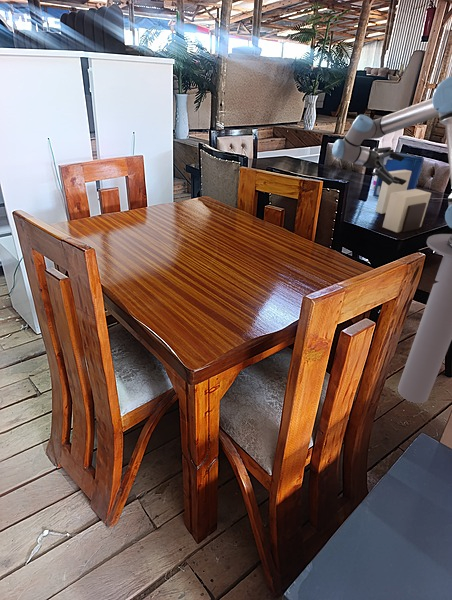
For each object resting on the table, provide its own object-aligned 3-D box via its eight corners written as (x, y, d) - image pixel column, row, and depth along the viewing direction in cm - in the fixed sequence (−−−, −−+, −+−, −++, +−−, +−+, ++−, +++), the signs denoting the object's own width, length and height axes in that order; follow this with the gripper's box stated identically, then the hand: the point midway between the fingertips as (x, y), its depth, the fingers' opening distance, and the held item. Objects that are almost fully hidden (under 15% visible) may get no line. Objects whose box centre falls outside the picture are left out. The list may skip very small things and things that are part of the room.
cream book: (401, 210, 211) (411, 171, 201) (381, 213, 203) (391, 173, 193) (394, 207, 214) (404, 169, 204) (375, 211, 206) (384, 171, 196)
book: (413, 201, 227) (426, 155, 215) (411, 203, 222) (423, 156, 209) (375, 194, 237) (384, 150, 224) (372, 197, 231) (381, 151, 219)
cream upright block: (422, 227, 187) (433, 193, 179) (398, 233, 178) (408, 197, 170) (406, 221, 193) (415, 188, 185) (382, 227, 185) (391, 192, 177)
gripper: (359, 141, 189) (396, 154, 195) (360, 184, 180) (399, 197, 186) (369, 130, 182) (407, 144, 188) (370, 174, 173) (410, 188, 179)
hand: (403, 170), depth 187 cm, fingers open, 13 cm apart
